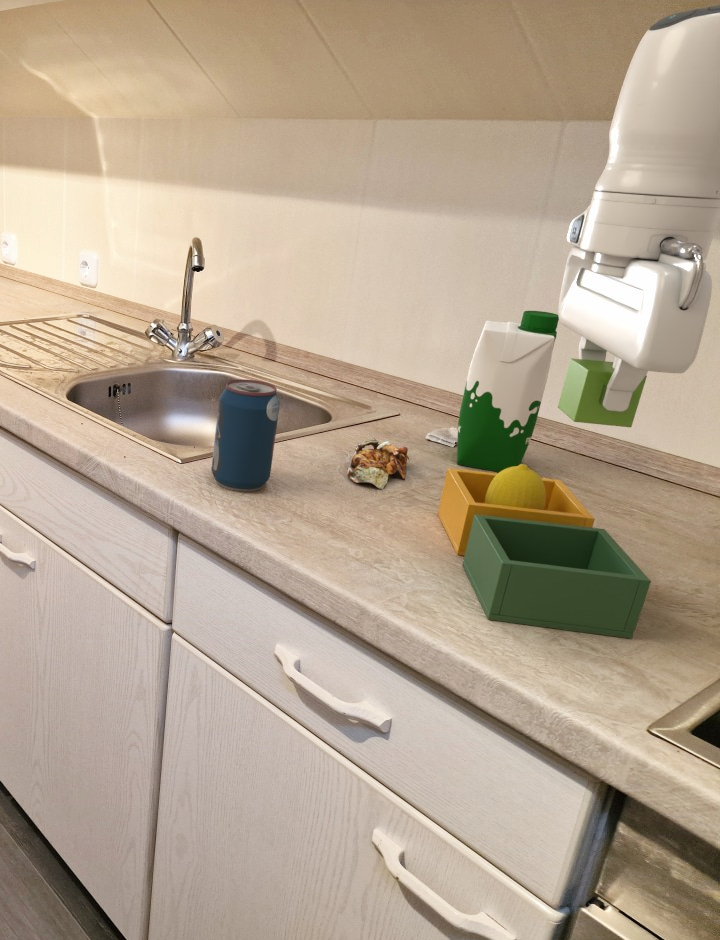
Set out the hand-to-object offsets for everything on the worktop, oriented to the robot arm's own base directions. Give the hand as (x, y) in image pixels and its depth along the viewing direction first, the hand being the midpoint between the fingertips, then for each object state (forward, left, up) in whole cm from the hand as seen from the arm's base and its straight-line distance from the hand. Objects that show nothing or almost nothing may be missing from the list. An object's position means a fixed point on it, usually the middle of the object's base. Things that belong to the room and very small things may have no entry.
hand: (598, 399), depth 73 cm
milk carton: (-3, -37, -19) cm, 41 cm away
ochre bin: (+1, -11, -19) cm, 22 cm away
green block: (0, 0, -2) cm, 2 cm away
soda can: (+29, -19, -19) cm, 39 cm away
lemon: (+1, -11, -18) cm, 21 cm away
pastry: (+12, -28, -19) cm, 36 cm away
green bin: (+1, +2, -19) cm, 19 cm away
